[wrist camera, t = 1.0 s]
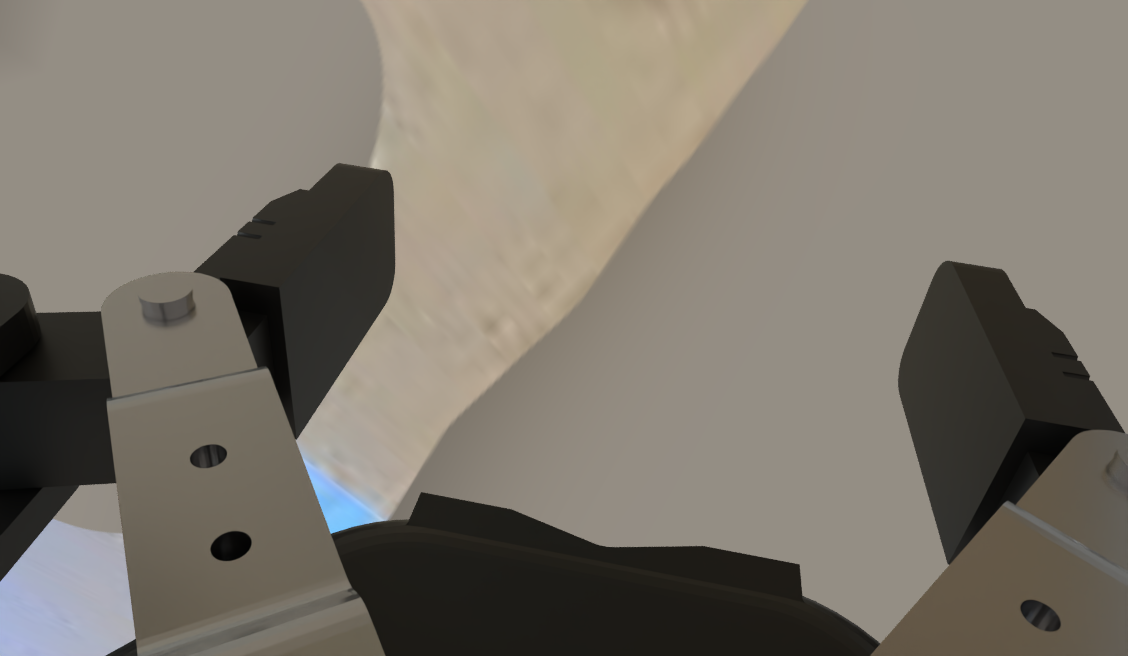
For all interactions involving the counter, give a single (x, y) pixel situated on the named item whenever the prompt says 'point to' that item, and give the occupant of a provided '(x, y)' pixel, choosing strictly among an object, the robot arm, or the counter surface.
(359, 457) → the counter surface
